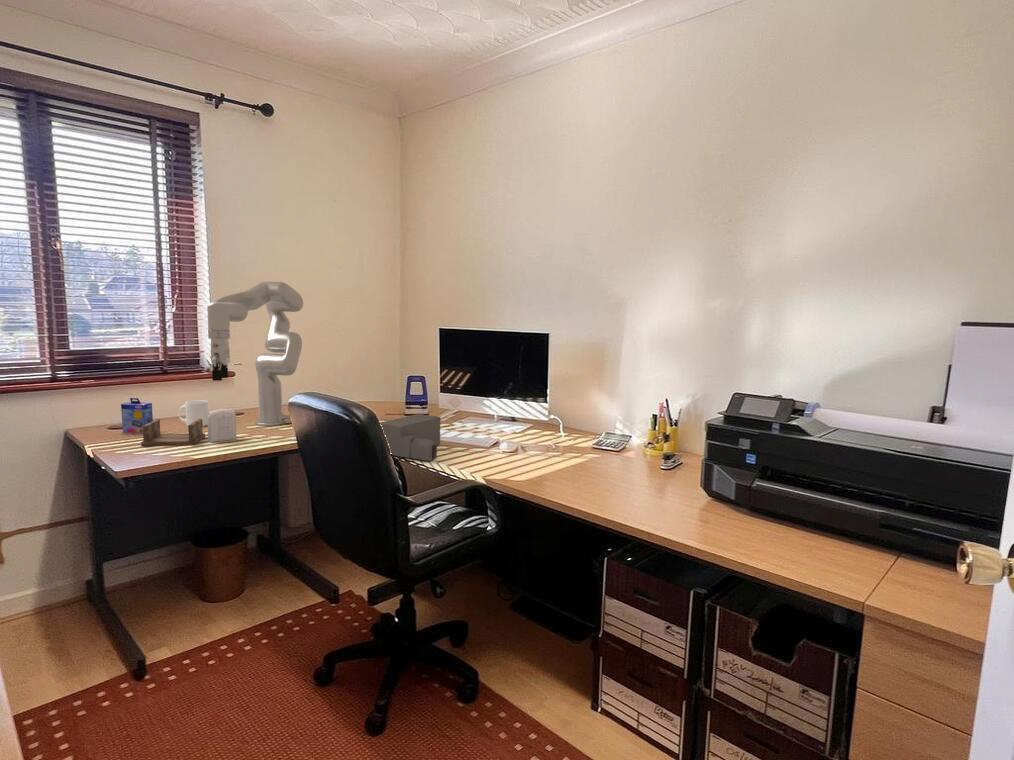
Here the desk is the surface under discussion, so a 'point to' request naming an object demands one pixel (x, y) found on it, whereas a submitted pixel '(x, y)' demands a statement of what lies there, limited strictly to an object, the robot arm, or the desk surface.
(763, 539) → the desk surface
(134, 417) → the ink cartridge box
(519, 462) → the desk surface
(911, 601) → the desk surface
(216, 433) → the photo printer
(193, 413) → the mug
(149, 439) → the walnut rack
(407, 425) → the grey stepped block
